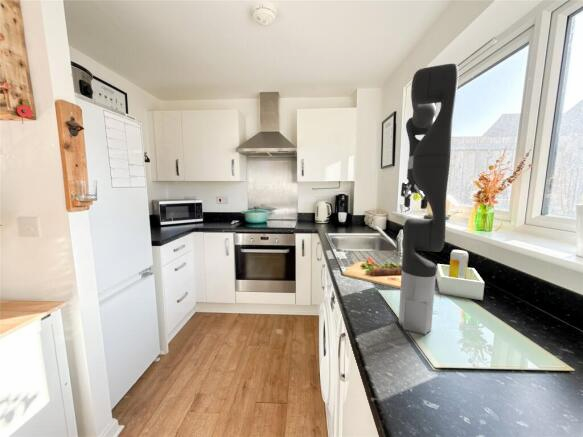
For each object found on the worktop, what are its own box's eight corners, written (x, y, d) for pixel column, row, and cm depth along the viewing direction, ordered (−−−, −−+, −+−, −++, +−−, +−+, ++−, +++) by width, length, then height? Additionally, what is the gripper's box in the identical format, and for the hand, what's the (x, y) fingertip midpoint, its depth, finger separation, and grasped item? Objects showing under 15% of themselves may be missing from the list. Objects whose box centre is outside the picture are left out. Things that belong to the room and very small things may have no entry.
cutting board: (341, 276, 119) (341, 261, 118) (358, 264, 138) (358, 251, 137) (421, 295, 98) (422, 277, 97) (429, 277, 117) (430, 262, 116)
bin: (482, 300, 93) (484, 282, 92) (439, 293, 99) (441, 276, 98) (472, 283, 108) (474, 268, 108) (436, 278, 115) (437, 263, 114)
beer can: (458, 282, 107) (461, 249, 105) (468, 288, 101) (472, 253, 99) (444, 283, 106) (447, 249, 105) (454, 288, 100) (458, 253, 98)
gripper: (397, 168, 104) (395, 206, 107) (425, 166, 91) (421, 209, 93) (411, 169, 107) (409, 206, 109) (440, 166, 93) (437, 209, 95)
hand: (415, 207), depth 101 cm, fingers open, 8 cm apart
